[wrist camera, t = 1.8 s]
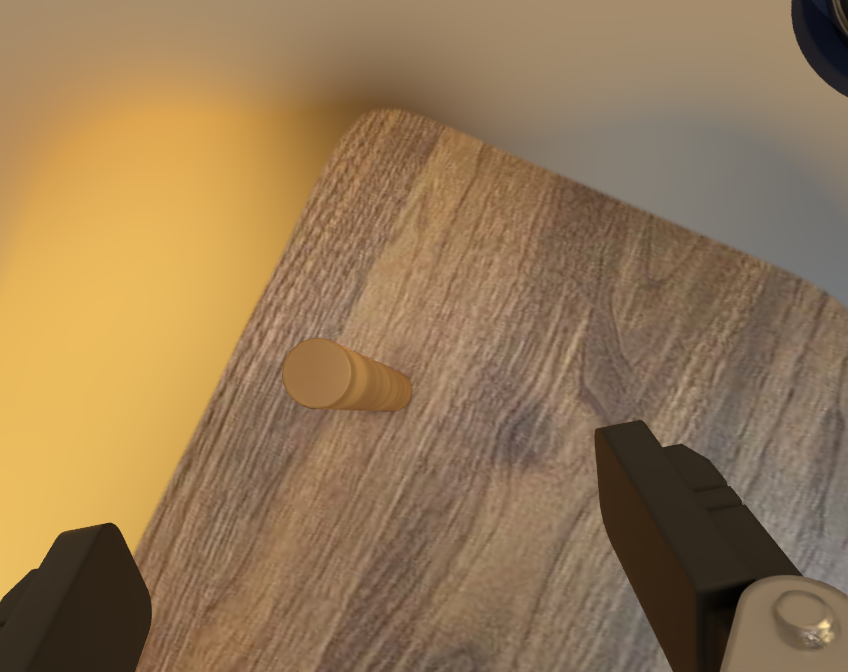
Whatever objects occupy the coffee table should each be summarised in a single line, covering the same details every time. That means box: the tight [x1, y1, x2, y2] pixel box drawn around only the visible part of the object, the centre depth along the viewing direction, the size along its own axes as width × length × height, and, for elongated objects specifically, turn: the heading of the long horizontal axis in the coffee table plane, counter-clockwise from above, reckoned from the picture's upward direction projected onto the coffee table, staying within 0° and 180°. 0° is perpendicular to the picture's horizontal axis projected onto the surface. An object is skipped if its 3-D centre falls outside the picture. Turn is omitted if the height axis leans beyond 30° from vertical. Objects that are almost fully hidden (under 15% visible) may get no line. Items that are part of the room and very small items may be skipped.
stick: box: [282, 338, 412, 411], centre depth 27 cm, size 2×2×15 cm
